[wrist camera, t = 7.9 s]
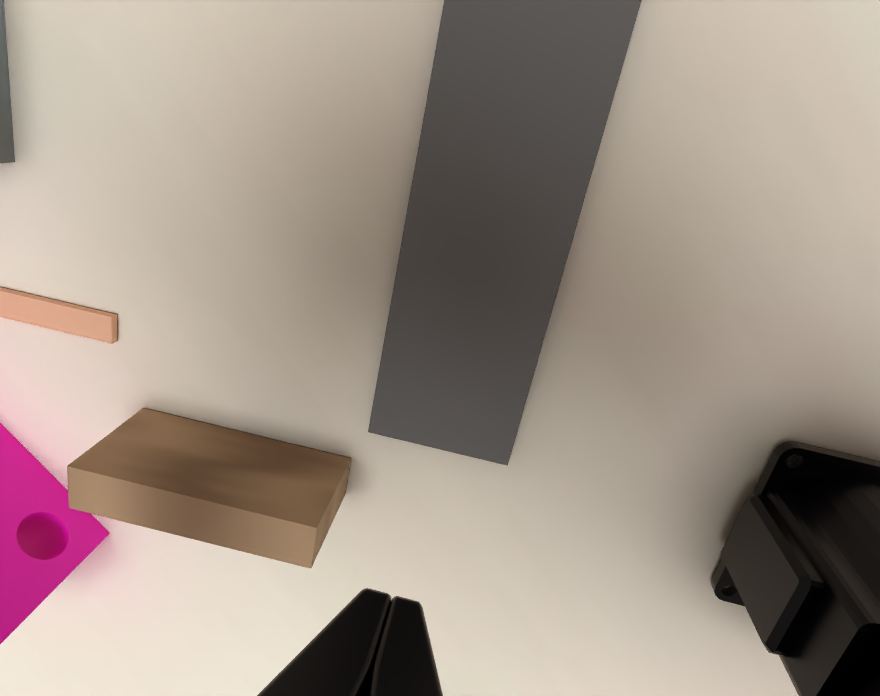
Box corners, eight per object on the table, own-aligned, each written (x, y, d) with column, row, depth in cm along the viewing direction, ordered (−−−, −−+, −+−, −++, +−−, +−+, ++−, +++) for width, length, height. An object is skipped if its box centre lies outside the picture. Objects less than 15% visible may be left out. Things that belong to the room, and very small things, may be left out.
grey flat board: (688, -170, 14) (692, -178, 14) (507, 459, 21) (507, 465, 20) (484, -209, 14) (483, -219, 14) (370, 426, 21) (368, 432, 21)
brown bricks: (493, -389, 13) (484, -592, 9) (345, 493, 22) (310, 568, 18) (151, -451, 13) (11, -671, 10) (142, 444, 22) (69, 507, 19)
